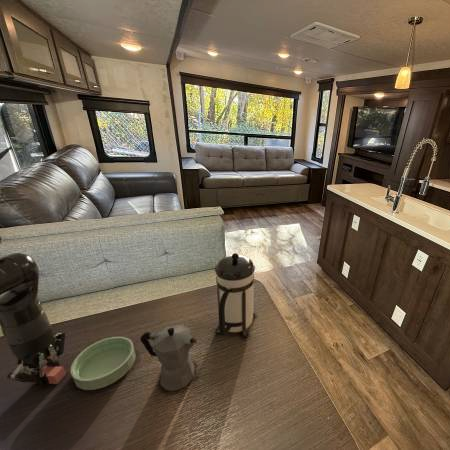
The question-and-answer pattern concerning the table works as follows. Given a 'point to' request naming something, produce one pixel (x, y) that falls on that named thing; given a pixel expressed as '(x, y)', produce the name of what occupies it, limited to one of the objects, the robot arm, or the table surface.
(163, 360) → the coffeepot
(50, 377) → the eraser
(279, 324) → the table surface
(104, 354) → the bowl
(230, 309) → the coffee press
